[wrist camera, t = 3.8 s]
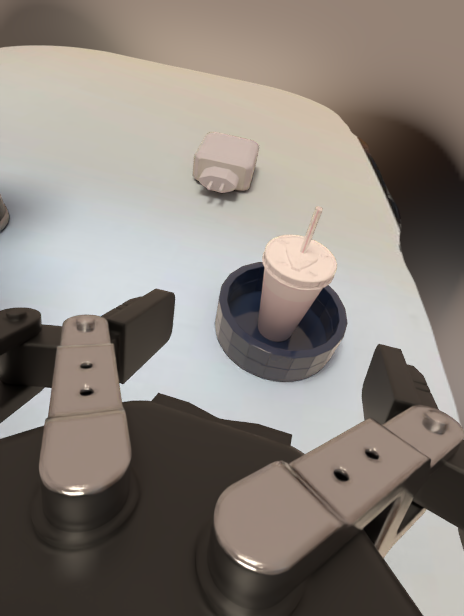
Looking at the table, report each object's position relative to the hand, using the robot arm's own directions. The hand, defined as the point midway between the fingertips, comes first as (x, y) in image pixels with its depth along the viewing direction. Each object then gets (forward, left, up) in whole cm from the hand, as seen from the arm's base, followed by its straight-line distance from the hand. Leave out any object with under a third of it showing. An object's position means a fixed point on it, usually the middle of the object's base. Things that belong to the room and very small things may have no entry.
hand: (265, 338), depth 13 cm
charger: (-31, +33, -17) cm, 48 cm away
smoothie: (-6, +15, -17) cm, 23 cm away
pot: (-6, +15, -17) cm, 23 cm away
